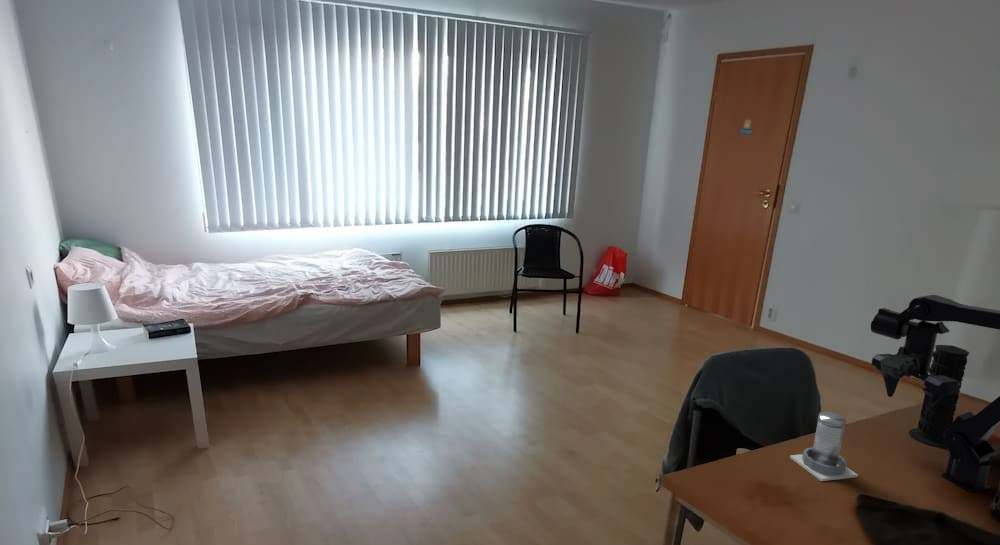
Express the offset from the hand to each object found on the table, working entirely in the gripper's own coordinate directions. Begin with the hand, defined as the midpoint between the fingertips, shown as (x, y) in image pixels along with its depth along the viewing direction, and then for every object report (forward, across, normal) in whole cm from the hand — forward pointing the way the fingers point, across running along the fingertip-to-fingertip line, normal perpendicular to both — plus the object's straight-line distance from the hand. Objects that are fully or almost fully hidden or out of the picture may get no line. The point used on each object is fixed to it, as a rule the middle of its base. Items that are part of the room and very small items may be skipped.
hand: (906, 404), depth 137 cm
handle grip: (+13, -4, +16) cm, 21 cm away
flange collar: (+13, +3, -25) cm, 28 cm away
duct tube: (+12, +3, -25) cm, 28 cm away
